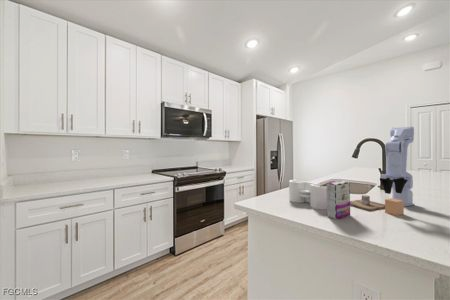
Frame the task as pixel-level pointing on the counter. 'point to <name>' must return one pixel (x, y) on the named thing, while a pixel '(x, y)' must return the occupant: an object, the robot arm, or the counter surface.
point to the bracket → (308, 193)
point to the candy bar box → (338, 199)
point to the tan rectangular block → (394, 206)
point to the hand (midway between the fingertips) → (393, 193)
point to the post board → (366, 204)
